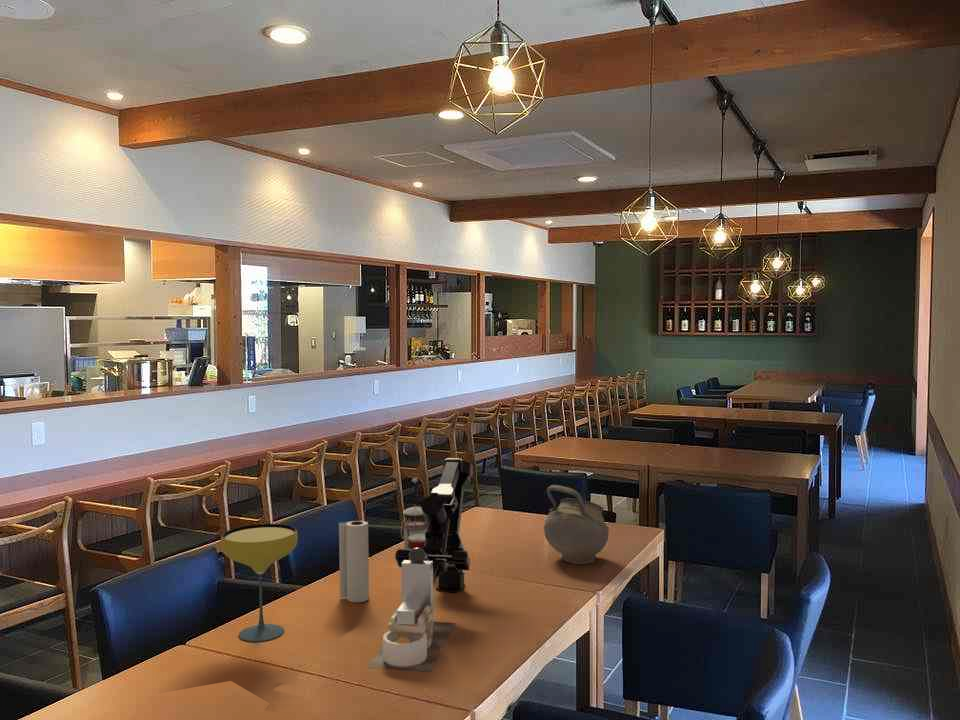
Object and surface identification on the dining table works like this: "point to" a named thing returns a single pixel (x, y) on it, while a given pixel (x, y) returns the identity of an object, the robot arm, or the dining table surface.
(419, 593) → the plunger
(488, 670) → the dining table surface
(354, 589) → the paper towel roll
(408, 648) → the cup
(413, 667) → the launcher
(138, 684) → the dining table surface
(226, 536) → the cocktail glass
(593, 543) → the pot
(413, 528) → the french press
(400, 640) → the ball
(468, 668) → the dining table surface
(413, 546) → the canned food
